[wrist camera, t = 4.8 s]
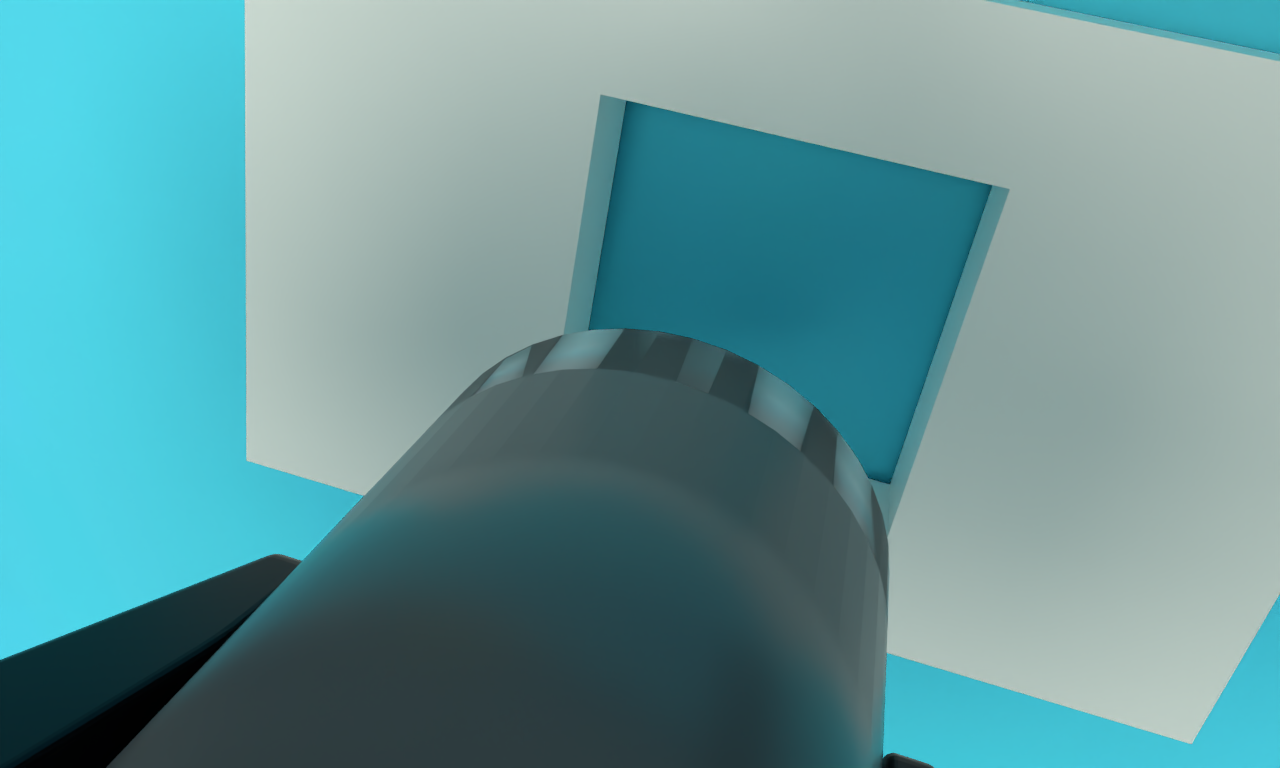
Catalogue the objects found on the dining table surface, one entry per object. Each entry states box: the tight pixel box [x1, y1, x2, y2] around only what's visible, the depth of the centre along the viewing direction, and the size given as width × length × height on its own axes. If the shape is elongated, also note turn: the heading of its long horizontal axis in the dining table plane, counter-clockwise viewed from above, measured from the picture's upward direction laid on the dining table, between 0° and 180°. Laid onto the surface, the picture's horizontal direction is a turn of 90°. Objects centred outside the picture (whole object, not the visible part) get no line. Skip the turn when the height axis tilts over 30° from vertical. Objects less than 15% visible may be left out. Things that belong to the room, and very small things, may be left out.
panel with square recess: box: [245, 0, 1280, 744], centre depth 19 cm, size 20×12×2 cm, turn 80°
